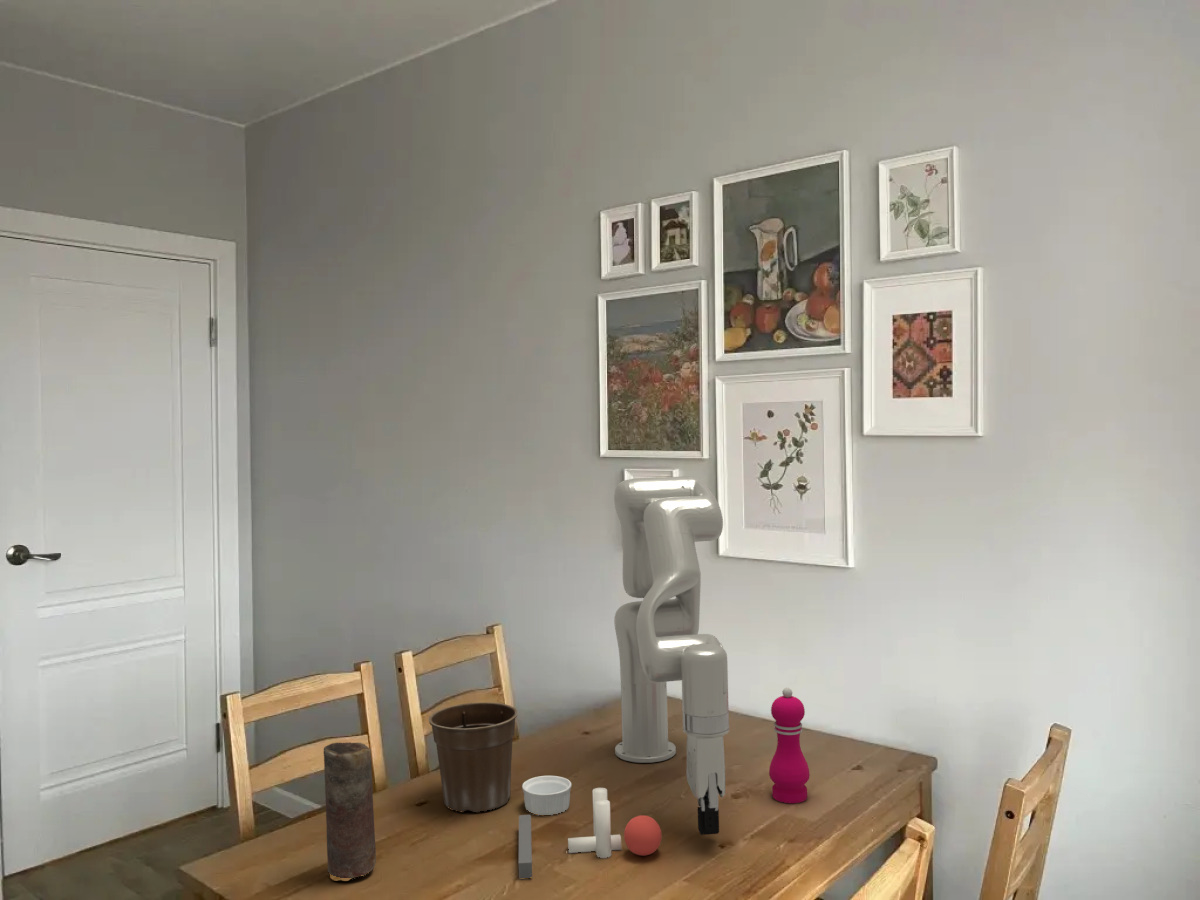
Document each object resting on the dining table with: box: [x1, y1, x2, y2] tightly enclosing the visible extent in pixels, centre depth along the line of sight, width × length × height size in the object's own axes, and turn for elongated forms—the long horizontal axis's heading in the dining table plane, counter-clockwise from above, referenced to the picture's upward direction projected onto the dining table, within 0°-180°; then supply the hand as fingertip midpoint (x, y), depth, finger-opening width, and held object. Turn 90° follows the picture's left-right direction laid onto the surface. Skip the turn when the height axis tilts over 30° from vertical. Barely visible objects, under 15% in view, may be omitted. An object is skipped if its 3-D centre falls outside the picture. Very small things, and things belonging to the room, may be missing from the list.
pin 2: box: [595, 799, 612, 859], centre depth 155 cm, size 2×2×8 cm
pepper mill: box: [768, 687, 811, 804], centre depth 176 cm, size 7×7×20 cm
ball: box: [623, 814, 663, 857], centre depth 155 cm, size 6×6×6 cm
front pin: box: [567, 834, 622, 854], centre depth 158 cm, size 2×2×8 cm
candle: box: [323, 742, 377, 878], centre depth 151 cm, size 8×7×20 cm
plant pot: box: [428, 701, 518, 813], centre depth 179 cm, size 16×16×16 cm
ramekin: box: [521, 775, 572, 816], centre depth 175 cm, size 9×9×4 cm
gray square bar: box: [518, 814, 533, 879], centre depth 157 cm, size 18×2×2 cm, turn 5°
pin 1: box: [592, 787, 608, 836], centre depth 160 cm, size 2×2×8 cm
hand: (708, 832), depth 159 cm, fingers closed
